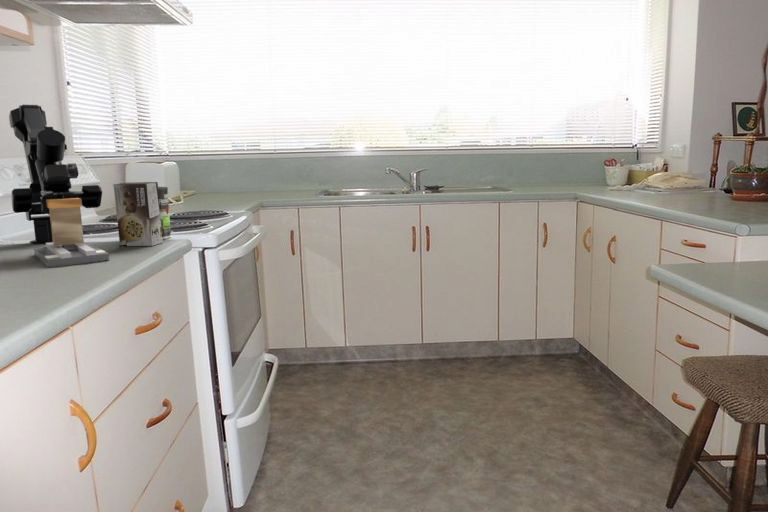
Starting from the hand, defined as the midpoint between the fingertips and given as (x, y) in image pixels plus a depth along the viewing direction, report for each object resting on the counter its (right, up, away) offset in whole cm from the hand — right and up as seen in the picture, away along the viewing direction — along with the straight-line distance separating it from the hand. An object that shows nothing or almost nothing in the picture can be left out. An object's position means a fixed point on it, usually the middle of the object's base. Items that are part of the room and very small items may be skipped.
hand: (65, 225), depth 139 cm
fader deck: (+2, -8, -1) cm, 8 cm away
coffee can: (+9, -2, +28) cm, 30 cm away
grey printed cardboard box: (+11, -4, +18) cm, 21 cm away
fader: (+1, -5, 0) cm, 6 cm away
